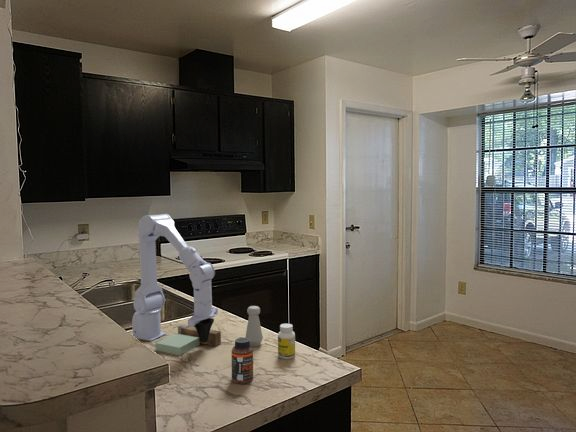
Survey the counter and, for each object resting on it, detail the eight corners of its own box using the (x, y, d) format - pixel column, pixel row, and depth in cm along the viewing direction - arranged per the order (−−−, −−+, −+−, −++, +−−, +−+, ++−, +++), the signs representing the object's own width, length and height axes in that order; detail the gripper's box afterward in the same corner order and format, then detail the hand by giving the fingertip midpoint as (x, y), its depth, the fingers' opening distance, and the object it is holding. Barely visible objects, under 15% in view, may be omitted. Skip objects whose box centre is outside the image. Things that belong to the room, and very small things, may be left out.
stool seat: (155, 350, 142) (155, 342, 141) (175, 340, 151) (175, 333, 150) (180, 355, 137) (179, 347, 137) (199, 344, 146) (199, 337, 146)
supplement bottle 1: (244, 386, 116) (243, 345, 115) (227, 381, 119) (226, 341, 118) (257, 378, 121) (257, 338, 120) (240, 373, 124) (240, 334, 123)
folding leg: (176, 338, 152) (175, 326, 151) (182, 335, 154) (181, 324, 154) (215, 345, 145) (215, 333, 144) (221, 342, 147) (220, 330, 147)
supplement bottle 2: (274, 356, 136) (274, 325, 135) (286, 351, 140) (286, 321, 139) (287, 360, 132) (286, 329, 132) (298, 355, 136) (298, 325, 136)
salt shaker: (260, 348, 142) (259, 309, 141) (243, 347, 144) (242, 308, 143) (264, 342, 148) (264, 304, 147) (248, 341, 149) (247, 304, 148)
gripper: (200, 307, 134) (201, 350, 135) (225, 296, 147) (225, 335, 148) (181, 305, 136) (182, 347, 137) (207, 294, 150) (208, 333, 151)
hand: (203, 341), depth 143 cm, fingers closed
